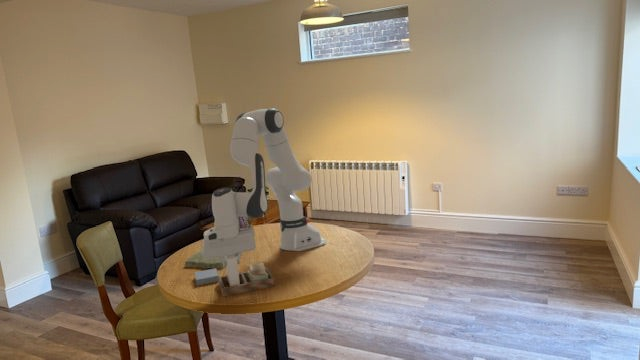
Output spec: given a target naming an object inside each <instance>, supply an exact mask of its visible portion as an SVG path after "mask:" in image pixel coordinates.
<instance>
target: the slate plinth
mask: <svg viewBox="0 0 640 360" xmlns="http://www.w3.org/2000/svg"><path fill="white" fill-rule="evenodd" d="M217 269H218V268H212V269H204V270H201V271H195V272H194V277H195V284H196V287H198V286H202V285H208V284H213V283H219V281H218V277H220V276H219V273H218V271H217Z"/></svg>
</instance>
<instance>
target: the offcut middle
mask: <svg viewBox="0 0 640 360" xmlns="http://www.w3.org/2000/svg"><path fill="white" fill-rule="evenodd" d="M247 271H248V277H249V278H250V279H251V281H252V282H255V281H260V280H265V279H268V274H267V273H266V275H262V276H256V277H252V276H251V272H250V270H247ZM250 279H249V280H250Z"/></svg>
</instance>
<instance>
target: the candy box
mask: <svg viewBox="0 0 640 360" xmlns="http://www.w3.org/2000/svg"><path fill="white" fill-rule="evenodd" d="M236 218H237V221H238V228H247V227H250V228H253V229H254V227H253V226H254V225H253V219H252V218H253V217H238V216H236Z"/></svg>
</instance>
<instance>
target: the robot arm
mask: <svg viewBox="0 0 640 360" xmlns="http://www.w3.org/2000/svg"><path fill="white" fill-rule="evenodd" d="M284 122H285V121H284V115H283V113H282V112H281V111H280V110H279V109H277V108H262V109H255V110H251V111H248V112H247V111H246V112H243V113H241V114H239V115H238V116H237V118H236V119H235V124H234V128H233V130H232V134H231V140H230V147H229V152H230V155H231V158H232V159H233V160H235V162H237V163H238V164H240V165H243V166H245V167H248V168H250V170H251V174H252V175H251V178H252V190H251V191H249V192H240V191H239V192H238V191H233V189H232V188H230V187H221V188H218V189H216V190H214V191H213V193H212V194H211V195H212V196H211V208H212V209H211V210H212V215H213V217H214V224H213V225H214V226H213V227H211V228H209V229H207V230H205V231H204V232H203V240H202V245H201V247H202V249H203V257H204V258H205V259H209V258H214V257H219V259H220V260H221V261H222V262H223V267H224V266H227V261H224V260H223V256H225V255H230V254H235V253H237V254H238V256H237V257H236V258H237V265H238V264H240V263H241V261H240V260H241V257H242V256H243V255H242V253H246V252H249V251H255V249H256V248H257V245H256V241H255V236H256V235H255V233H256V232H255V229H254V227H253V228H250V227H247V228H238V221H237V218H236V216H238V217H252V218H254V219H260V218H261V217H263V215H264V214H265V213H266V212H267V211H268V199H267V198H268V197H267V192H266V184H267V186H269V188H271V190H272V192H273V194H274V195H275V198H276V200H277V203H278V207H279V216H280V217H279V229H280V233H281V234H280V235H281V237H280V244H279V248H280V249H281V250H284V251H295V252H301V251H306V250H310V249H314V248H317V247H321V246H325V245H326V243H327V242H326V239H325V238H324V237H322V236H321V233H320V231H319V230H318V229H317V228H316V227H315V226H313V225H312V224H310V222H311V219H310V218H309V217H306V216H305V215H304V211H303V202H302V199H300V197H298V196H297V194H296V193H295V192H300V191H306V190H308V189H309V188H310V186H311V184H312V174H311V172H310V171H309V170H307V168H305V167H303V165H301V163H300V162H299V160H298V159H297V157H296V156H295V154H294V152H293V149H292V146H291V143H290V140H289V137H288V134H287V132H286V129H285V127H284V124H285V123H284ZM260 136H262V139H263V143H264V145H265V149H266V152H267V156H268V157H269V161H270V162H271V163H272V164H274V165H275V167H272V168H269V169H268V170H267V172H266V170H265V162H264V157H263V155H262V154H261V153H260V152H259V149H258V147H259V146H258V145H259V137H260ZM265 172H266V173H265ZM202 249H201V250H202Z"/></svg>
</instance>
